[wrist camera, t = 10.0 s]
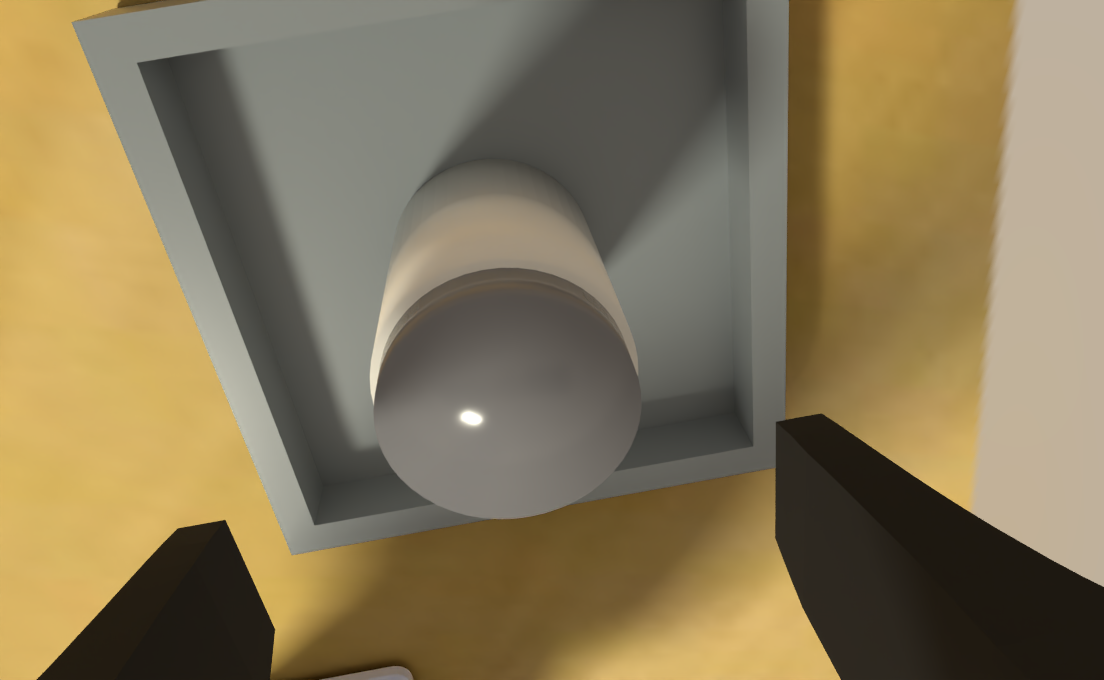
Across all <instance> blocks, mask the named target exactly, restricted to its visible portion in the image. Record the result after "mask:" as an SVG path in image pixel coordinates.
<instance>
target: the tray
mask: <svg viewBox="0 0 1104 680" xmlns="http://www.w3.org/2000/svg"><path fill="white" fill-rule="evenodd" d="M72 25H73V27H74V29H75V32H76V34H77V37H78V39H79V41H80V44H81V46H82V49H83V51H84V54H85V56H86V58H87V61H88V63H89V66H90V68H91V70H92V73H93V75H94V78H95V80H96V83H97V85H98V87H99V90H100V92H101V95H102V97H103V100H104V102H105V104H106V107H107V109H108V112H109V114H110V116H111V119H112V121H113V124H114V126H115V129H116V131H117V133H118V136H119V138H120V141H121V143H122V145H123V148H124V150H125V153H126V155H127V158H128V160H129V162H130V165H131V167H132V170H133V172H134V175H135V177H136V179H137V182H138V184H139V187H140V189H141V191H142V194H143V196H144V199H145V201H146V204H147V206H148V208H149V211H150V213H151V216H152V218H153V220H154V223H155V225H156V228H157V230H158V233H159V235H160V237H161V240H162V242H163V245H164V247H165V250H166V252H167V254H168V257H169V259H170V262H171V264H172V266H173V269H174V271H175V274H176V276H177V279H178V281H179V283H180V286H181V288H182V291H183V293H184V296H185V298H186V300H187V303H188V305H189V308H190V310H191V312H192V315H193V317H194V320H195V322H196V325H197V327H198V329H199V332H200V334H201V337H202V339H203V341H204V344H205V346H206V349H207V351H208V354H209V356H210V358H211V361H212V363H213V366H214V368H215V371H216V373H217V375H218V378H219V380H220V383H221V385H222V387H223V390H224V392H225V395H226V397H227V400H228V402H229V404H230V407H231V409H232V412H233V414H234V416H235V419H236V421H237V424H238V426H239V429H240V431H241V433H242V436H243V438H244V441H245V443H246V446H247V448H248V450H249V453H250V455H251V458H252V460H253V462H254V465H255V467H256V470H257V472H258V475H259V477H260V479H261V482H262V484H263V487H264V489H265V491H266V494H267V496H268V499H269V501H270V504H271V506H272V508H273V511H274V513H275V516H276V518H277V521H278V523H279V525H280V528H281V530H282V533H283V535H284V537H285V540H286V542H287V545H288V547H289V550H290V552H291V554H292V555H296V554H301V553H307V552H312V551H318V550H323V549H329V548H335V547H340V546H346V545H351V544H357V543H362V542H368V541H373V540H379V539H384V538H390V537H395V536H401V535H406V534H412V533H417V532H423V531H428V530H434V529H439V528H445V527H451V526H456V525H462V524H467V523H473V522H478V521H484V520H489V519H488V518H479V517H473V516H468V515H464V514H460V513H457V512H453V511H450V510H448V509H446V508H443V507H441V506H438V505H436V504H434V503H432V502H431V501H429V500H427V499H425V498H423V497H422V496H421V495H419V494H418V493H416V492H415V491H414V490H412V489H411V488H410V487H409V486H408V485H407V484H406V483H405V482H404V481H402V480H401V479H400V477H399V476H398V475H397V474H396V473H395V471H394V470H393V469H392V468H391V466H390V465H389V463H388V461H387V460H386V458H385V456H384V454H383V452H382V450H381V447H380V445H379V442H378V440H377V435H376V431H375V427H374V414H373V409H374V404H373V400H372V396H371V390H370V366H371V358H372V353H373V348H374V342H375V337H376V332H377V327H378V321H379V316H380V311H381V305H382V300H383V295H384V289H385V284H386V279H387V274H388V268H389V263H390V258H391V252H392V247H393V242H394V237H395V233H396V228H397V225H398V222H399V220H400V217H401V215H402V213H403V211H404V209H405V207H406V206H407V204H408V202H409V201H410V200H411V198H412V197H413V196H414V194H415V193H416V192H417V191H418V190H419V189H420V188H421V187H422V186H423V185H424V184H425V183H426V182H428V181H429V180H430V179H432V178H433V177H435V176H436V175H438V174H439V173H441V172H443V171H445V170H447V169H449V168H451V167H454V166H456V165H459V164H462V163H466V162H470V161H474V160H482V159H504V160H511V161H516V162H520V163H523V164H527V165H530V166H532V167H534V168H537V169H539V170H541V171H543V172H544V173H546V174H548V175H549V176H551V177H552V178H554V179H555V180H556V181H557V182H559V183H560V184H561V185H562V186H563V187H564V188H565V189H566V190H567V191H568V192H569V193H570V194H571V195H572V197H573V198H574V200H575V201H576V202H577V204H578V205H579V207H580V209H581V211H582V213H583V215H584V217H585V220H586V222H587V225H588V227H589V230H590V232H591V235H592V237H593V240H594V242H595V244H596V247H597V249H598V252H599V254H600V257H601V259H602V262H603V264H604V267H605V269H606V272H607V274H608V277H609V279H610V282H611V284H612V286H613V289H614V291H615V294H616V296H617V299H618V301H619V304H620V306H621V309H622V311H623V314H624V316H625V319H626V321H627V324H628V326H629V328H630V331H631V334H632V337H633V340H634V342H635V346H636V352H637V357H638V379H639V384H640V389H641V406H642V407H641V415H640V422H639V426H638V429H637V433H636V436H635V438H634V440H633V443H632V445H631V447H630V449H629V451H628V452H627V454H626V456H625V457H624V459H623V461H622V462H621V463H620V464H619V466H618V467H617V468H616V469H615V471H614V472H613V473H612V474H611V475H610V476H609V477H608V478H607V479H606V480H605V481H604V482H603V483H602V484H600V485H599V486H598V487H596V488H595V489H594V490H593V491H591V492H590V493H588V494H587V495H585V496H583V497H582V498H580V499H578V500H577V501H575V502H573V503H570V504H568V505H572V504H578V503H583V502H589V501H594V500H600V499H605V498H611V497H616V496H622V495H627V494H633V493H638V492H644V491H649V490H655V489H660V488H666V487H671V486H677V485H683V484H688V483H694V482H699V481H705V480H710V479H716V478H721V477H727V476H732V475H738V474H743V473H749V472H754V471H760V470H765V469H771V468H776V422H777V421H783V420H785V392H786V277H787V162H788V46H789V0H163V1H157V2H151V3H145V4H139V5H133V6H127V7H120V8H115V9H111V10H108V11H105V12H102V13H99V14H96V15H93V16H90V17H87V18H83V19H80V20H77V21H74V22H72ZM566 506H567V505H566Z"/></svg>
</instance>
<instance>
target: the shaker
mask: <svg viewBox="0 0 1104 680" xmlns="http://www.w3.org/2000/svg"><path fill="white" fill-rule="evenodd" d="M370 390H371V396H372V400H373V404H374V409H373V414H374V427H375V431H376V435H377V440H378V442H379V445H380V447H381V450H382V452H383V454H384V456H385V458H386V460H387V461H388V463H389V465H390V466H391V468H392V469H393V470H394V471H395V473H396V474H397V475H398V476H399V477H400V479H401V480H402V481H404V482H405V483H406V484H407V485H408V486H409V487H410V488H411V489H412V490H414V491H415V492H416V493H418V494H419V495H421V496H422V497H423V498H425V499H427V500H429V501H431V502H432V503H434V504H436V505H438V506H441V507H443V508H446V509H448V510H450V511H453V512H457V513H460V514H464V515H468V516H473V517H479V518H488V519H516V518H524V517H531V516H535V515H540V514H544V513H548V512H550V511H553V510H556V509H559V508H562V507H564V506H566V505H568V504H570V503H573V502H575V501H577V500H578V499H580V498H582V497H583V496H585V495H587V494H588V493H590V492H591V491H593V490H594V489H595V488H596V487H598V486H599V485H600V484H602V483H603V482H604V481H605V480H606V479H607V478H608V477H609V476H610V475H611V474H612V473H613V472H614V471H615V469H616V468H617V467H618V466H619V464H620V463H621V462H622V461H623V459H624V457H625V456H626V454H627V452H628V451H629V449H630V447H631V445H632V443H633V440H634V438H635V436H636V433H637V429H638V426H639V422H640V415H641V407H642V406H641V389H640V384H639V379H638V357H637V352H636V346H635V342H634V340H633V337H632V334H631V331H630V328H629V326H628V324H627V321H626V319H625V316H624V314H623V311H622V309H621V306H620V304H619V301H618V299H617V296H616V294H615V291H614V289H613V286H612V284H611V282H610V279H609V277H608V274H607V272H606V269H605V267H604V264H603V262H602V259H601V257H600V254H599V252H598V249H597V247H596V244H595V242H594V240H593V237H592V235H591V232H590V230H589V227H588V225H587V222H586V220H585V217H584V215H583V213H582V211H581V209H580V207H579V205H578V204H577V202H576V201H575V200H574V198H573V197H572V195H571V194H570V193H569V192H568V191H567V190H566V189H565V188H564V187H563V186H562V185H561V184H560V183H559V182H557V181H556V180H555V179H554V178H552V177H551V176H549V175H548V174H546V173H544V172H543V171H541V170H539V169H537V168H534V167H532V166H530V165H527V164H523V163H520V162H516V161H511V160H504V159H482V160H474V161H470V162H466V163H462V164H459V165H456V166H454V167H451V168H449V169H447V170H445V171H443V172H441V173H439V174H438V175H436V176H435V177H433V178H432V179H430V180H429V181H428V182H426V183H425V184H424V185H423V186H422V187H421V188H420V189H419V190H418V191H417V192H416V193H415V194H414V196H413V197H412V198H411V200H410V201H409V202H408V204H407V206H406V207H405V209H404V211H403V213H402V215H401V217H400V220H399V222H398V225H397V228H396V233H395V237H394V242H393V247H392V252H391V258H390V263H389V268H388V274H387V279H386V284H385V289H384V295H383V300H382V305H381V311H380V316H379V321H378V327H377V332H376V337H375V342H374V348H373V353H372V358H371V366H370Z"/></svg>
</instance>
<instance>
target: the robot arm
mask: <svg viewBox="0 0 1104 680" xmlns="http://www.w3.org/2000/svg"><path fill="white" fill-rule="evenodd" d="M775 538H776V541H777V543H778V546H779V549H780V551H781V554H782V557H783V559H784V562H785V564H786V567H787V570H788V572H789V575H790V578H791V580H792V582H793V585H794V587H795V590H796V592H797V595H798V597H799V600H800V602H801V605H802V607H803V609H804V611H805V613H806V615H807V617H808V619H809V621H810V622H811V624H812V626H813V628H814V630H815V632H816V634H817V636H818V638H819V639H820V641H821V643H822V645H823V647H824V649H825V651H826V652H827V654H828V656H829V658H830V660H831V662H832V664H833V666H834V667H835V669H836V671H837V673H838V675H839V677H840V678H841V680H1104V587H1102V586H1101V585H1098V584H1096V583H1094V582H1092V581H1090V580H1088V579H1086V578H1084V577H1082V576H1080V575H1079V574H1077V573H1075V572H1073V571H1071V570H1069V569H1067V568H1066V567H1064V566H1062V565H1060V564H1058V563H1056V562H1054V561H1052V560H1050V559H1049V558H1047V557H1045V556H1043V555H1042V554H1040V553H1038V552H1037V551H1035V550H1033V549H1031V548H1030V547H1028V546H1026V545H1024V544H1023V543H1020V542H1019V541H1017V540H1015V539H1014V538H1012V537H1010V536H1008V535H1007V534H1005V533H1003V532H1002V531H1000V530H998V529H997V528H995V527H993V526H991V525H990V524H988V523H987V522H985V521H983V520H982V519H980V518H978V517H977V516H975V515H974V514H972V513H970V512H969V511H967V510H965V509H964V508H962V507H961V506H959V505H957V504H956V503H954V502H953V501H951V500H950V499H948V498H946V497H945V496H943V495H942V494H940V493H939V492H937V491H936V490H934V489H932V488H931V487H929V486H928V485H926V484H925V483H923V482H922V481H920V480H919V479H917V478H916V477H914V476H913V475H911V474H910V473H908V472H907V471H905V470H904V469H902V468H901V467H899V466H898V465H896V464H895V463H893V462H892V461H891V460H889V459H888V458H886V457H885V456H883V455H882V454H880V453H879V452H877V451H876V450H874V449H873V448H872V447H870V446H869V445H867V444H866V443H864V442H863V441H861V440H860V439H859V438H857V437H856V436H854V435H853V434H851V433H850V432H848V431H847V430H845V429H844V428H843V427H841V426H840V425H838V424H837V423H835V422H834V421H832V420H831V419H829V418H828V417H826V416H825V415H823V414H816V415H811V416H805V417H799V418H794V419H788V420H783V421H777V422H776V522H775ZM274 634H275V628H274V626H273V624H272V622H271V620H270V617H269V615H268V613H267V611H266V609H265V606H264V604H263V602H262V600H261V598H260V595H259V593H258V591H257V589H256V587H255V584H254V582H253V580H252V578H251V576H250V573H249V571H248V569H247V567H246V565H245V562H244V560H243V558H242V556H241V553H240V551H239V549H238V547H237V545H236V542H235V540H234V538H233V536H232V534H231V531H230V529H229V527H228V525H227V523H226V520H223V521H217V522H211V523H206V524H200V525H195V526H189V527H183V528H178V529H177V530H176V531H175V532H174V533H173V534H172V535H171V536H170V537H169V538H168V539H167V540H166V541H165V542H164V543H163V544H162V545H161V546H160V547H159V548H158V549H157V550H156V551H155V552H154V554H153V555H152V556H151V557H150V558H149V559H148V560H147V561H146V562H145V563H144V564H143V565H142V567H141V568H140V569H139V570H138V571H137V572H136V573H135V574H134V575H133V576H132V577H131V579H130V580H129V581H128V582H127V583H126V584H125V585H124V586H123V587H122V588H121V590H120V591H119V592H118V593H117V594H116V595H115V596H114V597H113V598H112V599H111V601H110V602H109V603H108V604H107V605H106V606H105V607H104V608H103V609H102V610H101V612H100V613H99V614H98V615H97V616H96V617H95V618H94V619H93V620H92V621H91V622H90V623H89V624H88V626H87V627H86V628H85V629H84V630H83V631H82V632H81V633H80V634H79V635H78V636H77V637H76V639H75V640H74V641H73V642H72V643H71V644H70V645H69V646H68V647H67V648H66V649H65V650H64V651H63V653H62V654H61V655H60V656H59V657H58V658H57V659H56V660H55V661H54V662H53V663H52V664H51V665H50V666H49V668H48V669H47V670H46V671H45V672H44V673H43V674H42V675H41V676H40V677H39V678H38V679H37V680H270V673H271V664H272V654H273V644H274ZM321 680H413V677H412V674H411V672H410V671H409V670H408V669H406V668H404V667H401V666H391V667H385V668H380V669H375V670H369V671H364V672H358V673H353V674H348V675H342V676H337V677H331V678H326V679H321Z"/></svg>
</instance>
